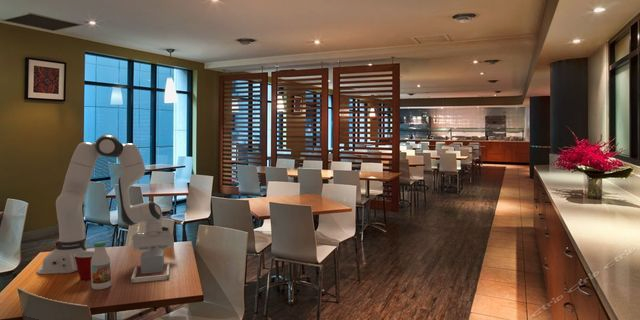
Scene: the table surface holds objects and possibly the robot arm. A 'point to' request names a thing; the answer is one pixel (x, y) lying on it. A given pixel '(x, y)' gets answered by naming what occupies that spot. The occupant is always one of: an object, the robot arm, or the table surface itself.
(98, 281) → the milk bottle
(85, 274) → the plastic cup
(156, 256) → the slate block
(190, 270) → the table surface
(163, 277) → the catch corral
